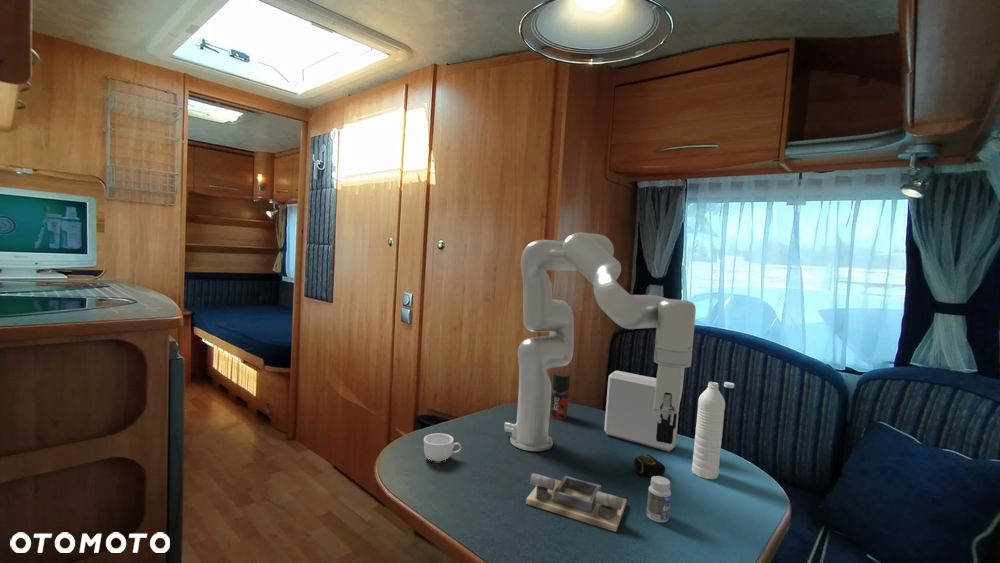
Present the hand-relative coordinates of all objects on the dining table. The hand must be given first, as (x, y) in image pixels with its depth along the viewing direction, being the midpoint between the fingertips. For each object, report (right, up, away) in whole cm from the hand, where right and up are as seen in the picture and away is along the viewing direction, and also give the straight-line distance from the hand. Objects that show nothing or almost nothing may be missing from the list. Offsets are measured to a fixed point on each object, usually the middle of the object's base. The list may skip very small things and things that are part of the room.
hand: (666, 434), depth 100 cm
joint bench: (-19, -17, +4) cm, 26 cm away
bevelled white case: (+7, -17, +43) cm, 47 cm away
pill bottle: (-2, -19, +1) cm, 19 cm away
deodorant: (-16, -14, +60) cm, 63 cm away
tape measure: (+3, -18, +22) cm, 29 cm away
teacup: (-52, -14, +22) cm, 58 cm away
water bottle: (+20, -19, +23) cm, 36 cm away
